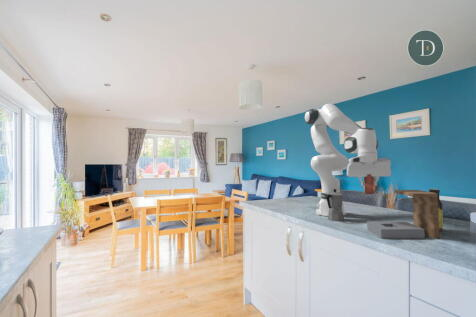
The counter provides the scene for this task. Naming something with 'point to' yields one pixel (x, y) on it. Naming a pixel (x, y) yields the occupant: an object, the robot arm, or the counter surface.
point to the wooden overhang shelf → (424, 210)
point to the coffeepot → (335, 206)
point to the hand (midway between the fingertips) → (368, 185)
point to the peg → (369, 184)
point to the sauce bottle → (439, 208)
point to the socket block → (395, 229)
